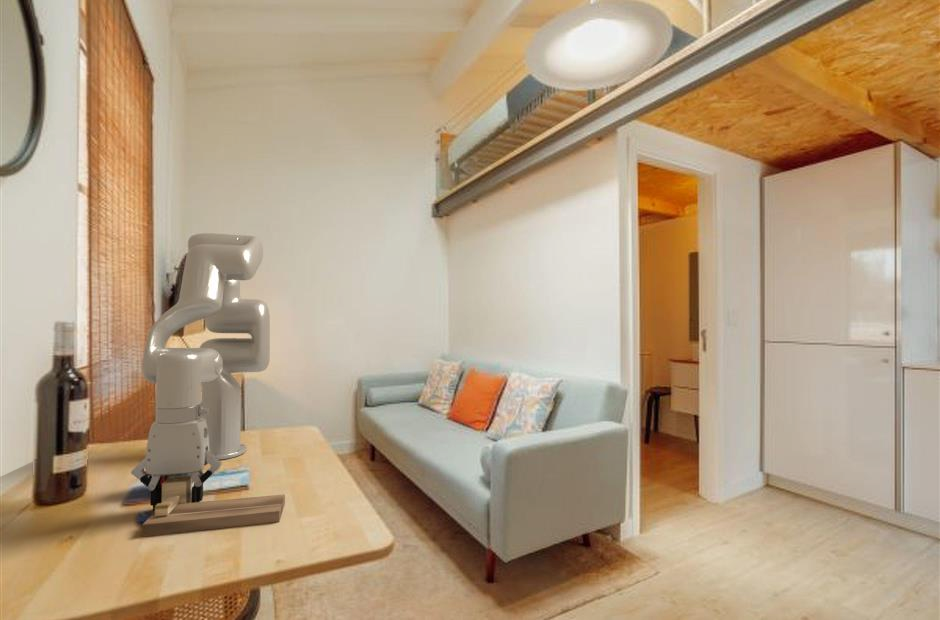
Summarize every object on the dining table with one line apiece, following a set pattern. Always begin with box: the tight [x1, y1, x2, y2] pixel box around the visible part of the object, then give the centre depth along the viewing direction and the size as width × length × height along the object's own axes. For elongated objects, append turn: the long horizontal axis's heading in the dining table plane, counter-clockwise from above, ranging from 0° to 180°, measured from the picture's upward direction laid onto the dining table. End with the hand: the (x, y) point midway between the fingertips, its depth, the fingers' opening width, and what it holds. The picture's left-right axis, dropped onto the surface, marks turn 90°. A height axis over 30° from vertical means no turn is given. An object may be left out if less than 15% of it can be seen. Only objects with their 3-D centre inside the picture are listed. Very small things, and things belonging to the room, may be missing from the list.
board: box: [141, 494, 286, 537], centre depth 84 cm, size 8×22×2 cm, turn 106°
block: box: [154, 475, 193, 516], centre depth 85 cm, size 10×4×6 cm, turn 16°
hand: (177, 505), depth 88 cm, fingers open, 5 cm apart
